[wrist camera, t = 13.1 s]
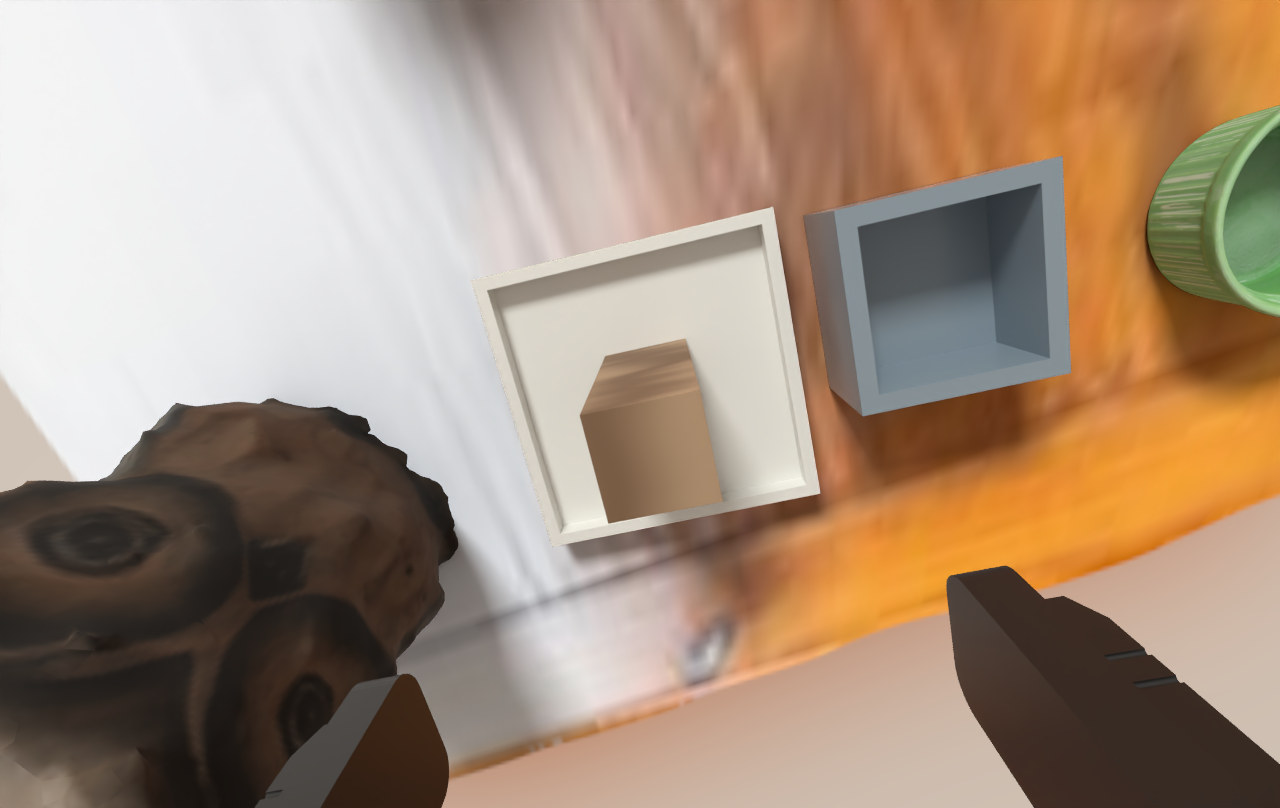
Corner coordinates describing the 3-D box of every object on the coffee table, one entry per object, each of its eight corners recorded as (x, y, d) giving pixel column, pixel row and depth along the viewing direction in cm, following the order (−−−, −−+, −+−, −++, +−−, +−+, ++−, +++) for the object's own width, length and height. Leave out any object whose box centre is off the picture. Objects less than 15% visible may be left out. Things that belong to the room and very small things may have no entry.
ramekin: (1195, 345, 29) (1287, 363, 25) (1092, 208, 27) (1171, 203, 23) (1371, 211, 27) (1504, 206, 23) (1272, 56, 26) (1394, 20, 21)
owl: (244, 372, 31) (-455, 600, 11) (484, 404, 31) (197, 682, 11) (256, 583, 34) (-262, 1031, 15) (473, 610, 34) (236, 1090, 15)
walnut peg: (685, 338, 28) (700, 389, 19) (701, 415, 29) (722, 501, 20) (605, 355, 29) (579, 415, 19) (624, 431, 30) (608, 523, 20)
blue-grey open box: (989, 170, 27) (1062, 156, 22) (1002, 350, 29) (1070, 372, 24) (803, 215, 28) (833, 211, 23) (829, 387, 30) (862, 416, 25)
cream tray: (765, 208, 28) (773, 206, 26) (810, 477, 31) (820, 493, 29) (483, 277, 29) (470, 280, 27) (558, 528, 33) (552, 546, 31)
